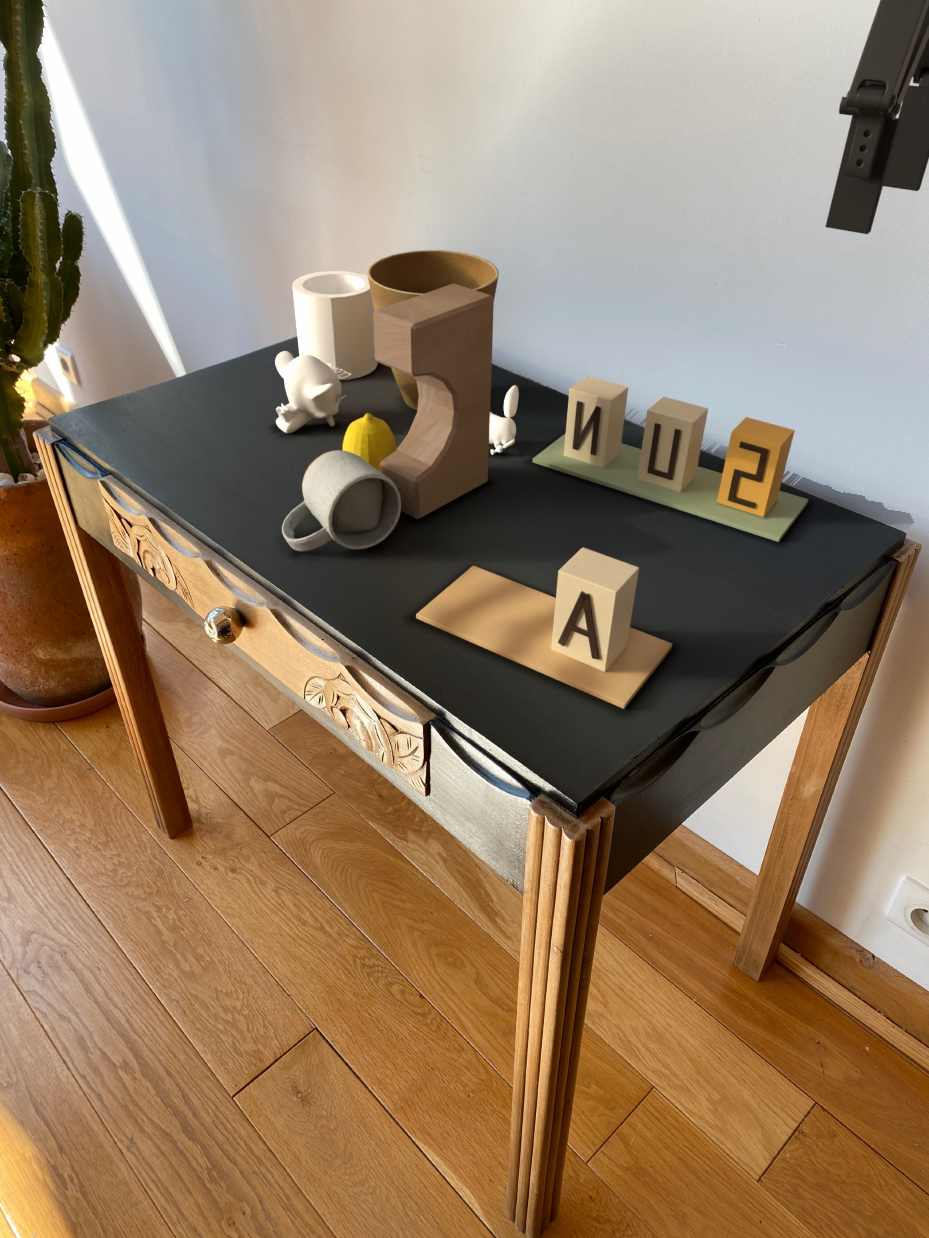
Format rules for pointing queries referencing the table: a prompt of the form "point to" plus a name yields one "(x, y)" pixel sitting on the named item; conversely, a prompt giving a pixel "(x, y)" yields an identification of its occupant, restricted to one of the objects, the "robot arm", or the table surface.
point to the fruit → (370, 440)
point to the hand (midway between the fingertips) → (875, 207)
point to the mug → (336, 320)
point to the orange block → (755, 466)
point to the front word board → (536, 634)
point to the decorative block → (440, 393)
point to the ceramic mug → (345, 503)
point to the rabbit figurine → (504, 423)
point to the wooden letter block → (595, 421)
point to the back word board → (691, 499)
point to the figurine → (307, 391)
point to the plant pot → (425, 286)
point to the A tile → (593, 608)
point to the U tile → (672, 443)
